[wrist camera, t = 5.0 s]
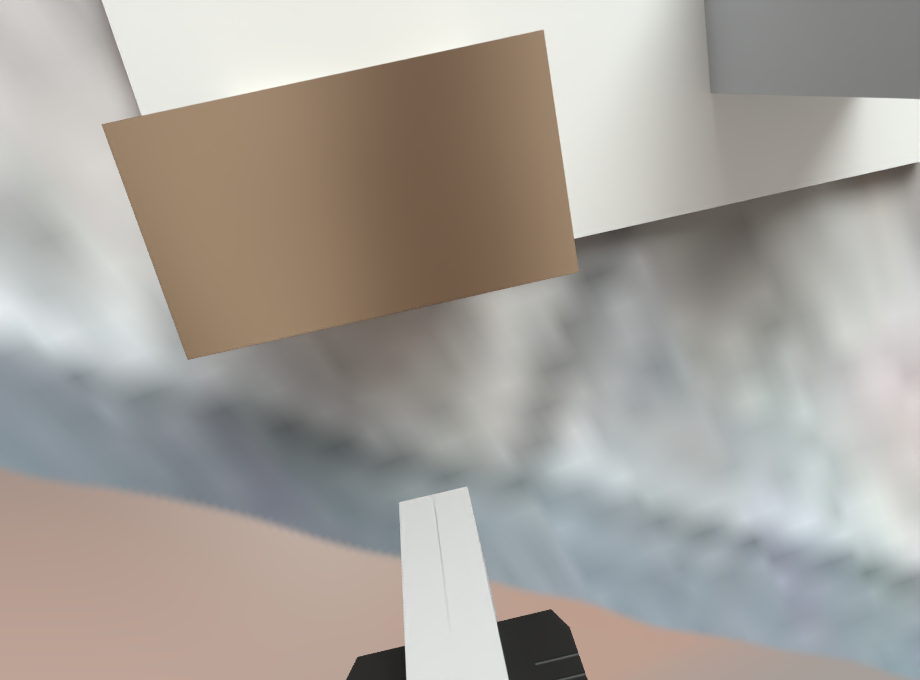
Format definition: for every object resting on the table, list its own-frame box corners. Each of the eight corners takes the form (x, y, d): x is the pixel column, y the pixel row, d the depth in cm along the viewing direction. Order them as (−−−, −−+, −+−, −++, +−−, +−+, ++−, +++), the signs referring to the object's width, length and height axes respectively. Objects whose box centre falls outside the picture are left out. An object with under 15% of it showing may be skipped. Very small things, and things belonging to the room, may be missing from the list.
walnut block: (271, 240, 22) (187, 359, 12) (230, 105, 20) (102, 124, 11) (495, 191, 22) (579, 271, 13) (470, 54, 20) (543, 29, 11)
